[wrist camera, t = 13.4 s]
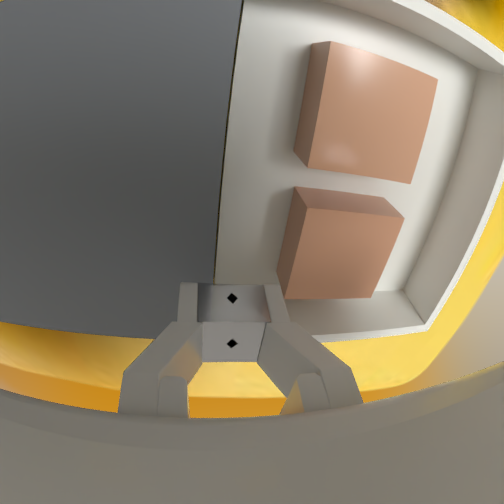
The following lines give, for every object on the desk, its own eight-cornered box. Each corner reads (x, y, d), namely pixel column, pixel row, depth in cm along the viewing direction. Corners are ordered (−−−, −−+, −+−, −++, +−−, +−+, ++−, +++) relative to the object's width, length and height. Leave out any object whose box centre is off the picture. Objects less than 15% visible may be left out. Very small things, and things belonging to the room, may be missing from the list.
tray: (247, -23, 8) (261, -52, 5) (479, 61, 10) (529, 74, 7) (213, 293, 16) (215, 345, 13) (402, 291, 18) (427, 330, 15)
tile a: (438, 79, 8) (409, 73, 10) (330, 40, 8) (311, 43, 9) (410, 184, 11) (387, 166, 12) (307, 168, 10) (293, 151, 12)
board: (-36, 43, 6) (-92, 54, 3) (235, -2, 8) (247, -32, 5) (-3, 267, 13) (-32, 315, 10) (208, 278, 16) (210, 340, 12)
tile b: (405, 218, 12) (383, 197, 13) (307, 207, 11) (294, 186, 13) (370, 297, 14) (356, 272, 16) (284, 299, 14) (276, 271, 15)
